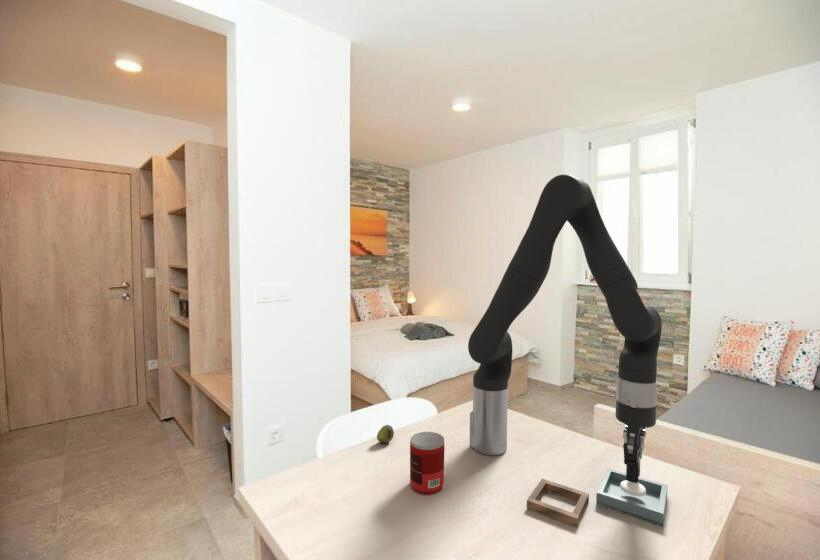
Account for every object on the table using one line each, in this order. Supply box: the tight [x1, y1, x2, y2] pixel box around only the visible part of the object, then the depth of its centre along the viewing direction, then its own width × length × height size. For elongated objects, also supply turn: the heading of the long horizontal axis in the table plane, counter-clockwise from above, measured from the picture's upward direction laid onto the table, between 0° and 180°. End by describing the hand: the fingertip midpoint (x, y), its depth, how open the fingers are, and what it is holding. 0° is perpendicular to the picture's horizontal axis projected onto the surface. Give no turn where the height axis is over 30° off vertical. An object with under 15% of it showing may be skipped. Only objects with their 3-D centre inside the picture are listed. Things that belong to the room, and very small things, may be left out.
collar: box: [526, 478, 590, 528], centre depth 86 cm, size 10×10×2 cm
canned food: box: [409, 431, 445, 496], centre depth 93 cm, size 8×8×11 cm
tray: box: [595, 467, 669, 527], centre depth 87 cm, size 12×12×3 cm
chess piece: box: [620, 465, 646, 496], centre depth 87 cm, size 5×5×10 cm
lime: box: [376, 424, 395, 444], centre depth 114 cm, size 4×5×5 cm
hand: (632, 478), depth 87 cm, fingers closed on chess piece
